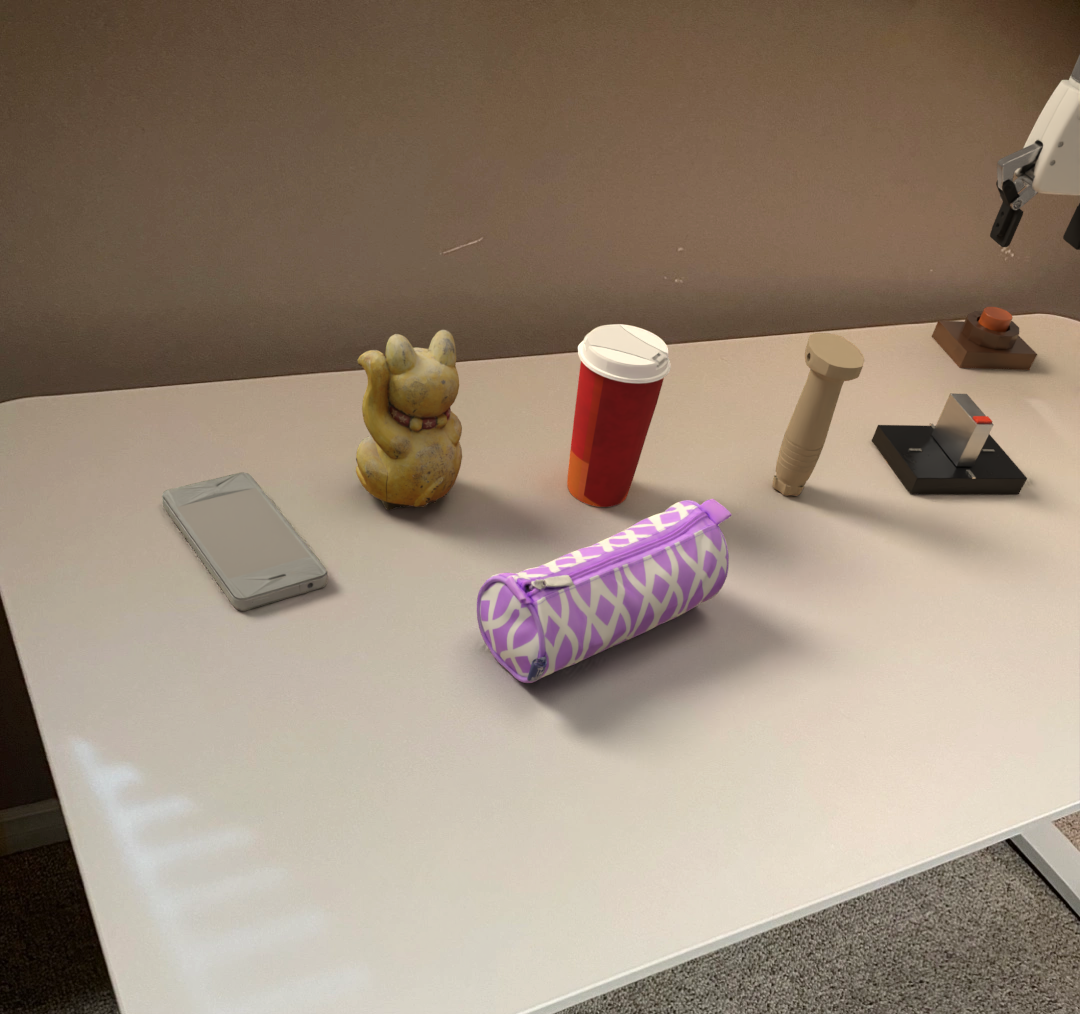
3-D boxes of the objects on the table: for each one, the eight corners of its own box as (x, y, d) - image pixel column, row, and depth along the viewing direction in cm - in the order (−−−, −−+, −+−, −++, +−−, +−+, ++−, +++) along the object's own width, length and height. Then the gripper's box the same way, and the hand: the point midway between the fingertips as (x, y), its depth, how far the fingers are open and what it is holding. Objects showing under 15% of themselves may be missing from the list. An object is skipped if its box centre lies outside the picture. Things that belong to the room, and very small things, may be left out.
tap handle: (931, 435, 117) (951, 391, 113) (947, 435, 117) (968, 391, 113) (956, 466, 113) (977, 422, 109) (973, 466, 113) (994, 422, 109)
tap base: (974, 441, 121) (983, 424, 120) (1019, 494, 115) (1028, 477, 113) (870, 440, 118) (878, 422, 117) (910, 495, 112) (918, 477, 110)
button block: (999, 339, 141) (1012, 309, 138) (1029, 370, 136) (1044, 340, 133) (931, 336, 139) (943, 306, 136) (959, 368, 134) (973, 337, 131)
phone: (249, 482, 97) (248, 470, 96) (332, 585, 89) (332, 573, 88) (160, 503, 93) (158, 491, 93) (238, 614, 85) (237, 601, 84)
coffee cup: (653, 487, 106) (689, 344, 95) (614, 525, 101) (648, 378, 90) (579, 454, 108) (607, 310, 97) (538, 490, 103) (562, 342, 92)
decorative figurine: (434, 460, 104) (446, 310, 93) (479, 507, 100) (497, 356, 89) (343, 482, 99) (345, 327, 89) (386, 532, 95) (394, 376, 84)
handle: (774, 507, 106) (823, 366, 96) (755, 469, 111) (800, 331, 100) (819, 508, 107) (873, 369, 97) (798, 471, 112) (848, 334, 101)
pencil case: (528, 714, 82) (545, 620, 75) (455, 643, 86) (465, 548, 80) (724, 615, 94) (754, 526, 87) (650, 557, 98) (674, 468, 91)
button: (997, 320, 137) (1004, 306, 135) (1011, 334, 134) (1018, 320, 133) (972, 319, 136) (978, 305, 134) (986, 333, 133) (992, 319, 132)
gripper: (1160, 68, 114) (1081, 231, 127) (1020, 56, 110) (952, 226, 122) (1204, 92, 109) (1118, 260, 122) (1059, 81, 105) (985, 256, 117)
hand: (1035, 243), depth 122 cm, fingers open, 9 cm apart
